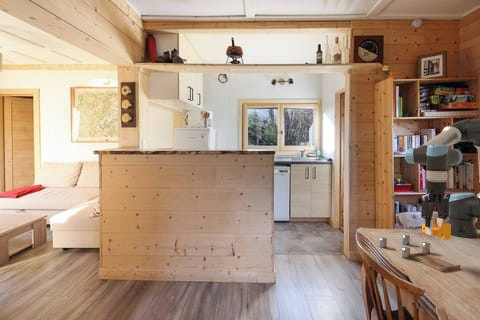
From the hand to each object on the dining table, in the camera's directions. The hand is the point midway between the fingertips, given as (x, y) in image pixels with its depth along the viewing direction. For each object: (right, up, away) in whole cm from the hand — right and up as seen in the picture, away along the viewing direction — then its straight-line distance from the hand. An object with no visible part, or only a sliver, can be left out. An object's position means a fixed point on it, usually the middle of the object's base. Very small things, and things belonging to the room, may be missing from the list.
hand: (434, 233), depth 131 cm
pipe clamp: (0, 0, -1) cm, 1 cm away
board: (0, -13, +1) cm, 13 cm away
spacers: (-4, -12, +16) cm, 20 cm away
